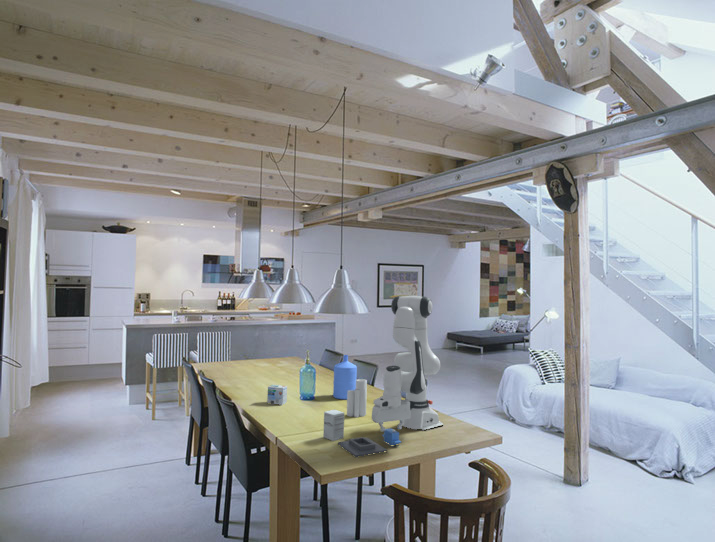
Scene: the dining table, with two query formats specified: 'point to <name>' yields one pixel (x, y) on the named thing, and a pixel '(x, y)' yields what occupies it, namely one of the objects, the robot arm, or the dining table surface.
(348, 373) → the water jug
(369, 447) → the plate
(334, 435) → the supplement box
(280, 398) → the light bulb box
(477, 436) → the dining table surface
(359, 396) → the white cylinder cluster
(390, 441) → the servo block
